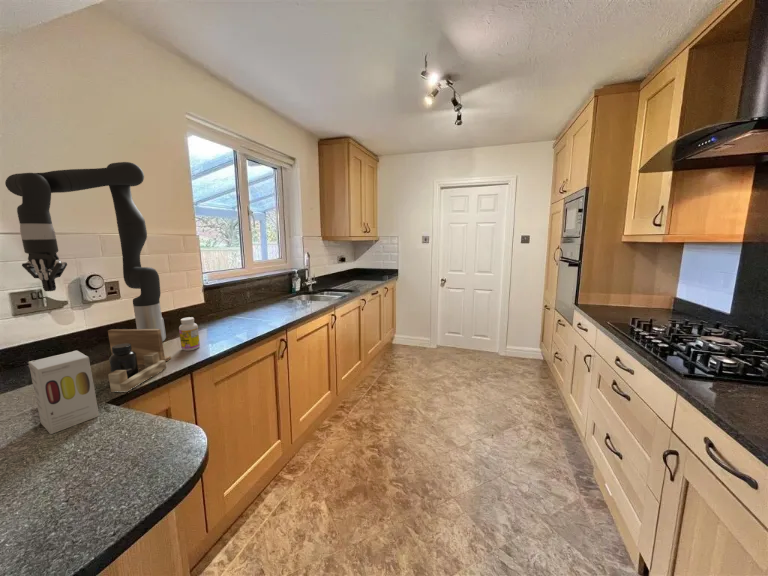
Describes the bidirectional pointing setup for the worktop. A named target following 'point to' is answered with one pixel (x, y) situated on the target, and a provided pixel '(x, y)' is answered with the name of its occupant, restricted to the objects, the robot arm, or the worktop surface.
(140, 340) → the oak screen
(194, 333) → the supplement bottle
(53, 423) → the supplement box
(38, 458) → the worktop surface
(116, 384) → the stop bay
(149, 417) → the worktop surface
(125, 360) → the supplement bottle
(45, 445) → the worktop surface
